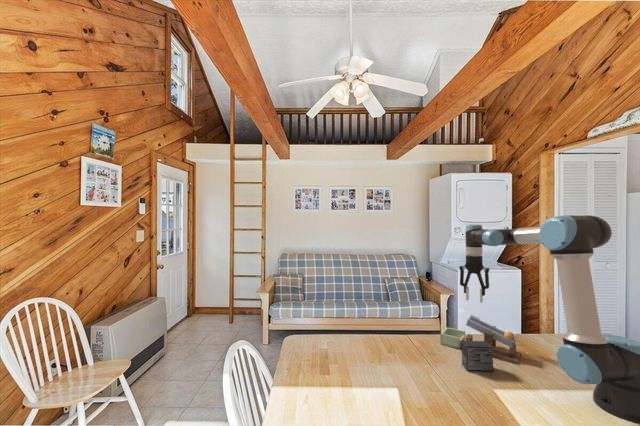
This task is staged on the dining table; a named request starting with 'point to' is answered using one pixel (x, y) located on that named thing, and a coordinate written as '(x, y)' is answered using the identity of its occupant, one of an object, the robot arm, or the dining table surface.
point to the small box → (477, 356)
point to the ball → (509, 335)
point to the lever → (490, 330)
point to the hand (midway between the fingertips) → (474, 300)
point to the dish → (452, 337)
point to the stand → (499, 349)
